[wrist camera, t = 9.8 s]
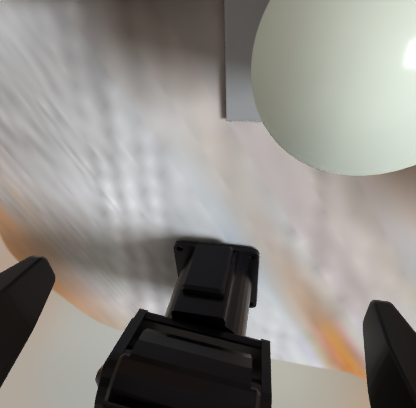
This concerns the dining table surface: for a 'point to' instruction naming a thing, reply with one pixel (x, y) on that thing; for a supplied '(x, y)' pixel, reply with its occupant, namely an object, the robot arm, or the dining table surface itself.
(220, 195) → the dining table surface
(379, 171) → the cylinder with square knob
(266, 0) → the slate mat
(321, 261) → the dining table surface
